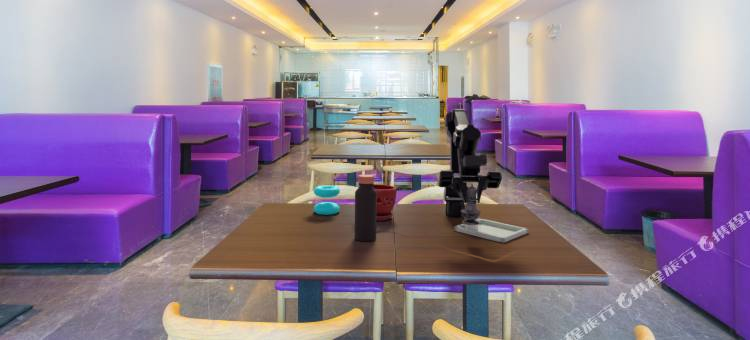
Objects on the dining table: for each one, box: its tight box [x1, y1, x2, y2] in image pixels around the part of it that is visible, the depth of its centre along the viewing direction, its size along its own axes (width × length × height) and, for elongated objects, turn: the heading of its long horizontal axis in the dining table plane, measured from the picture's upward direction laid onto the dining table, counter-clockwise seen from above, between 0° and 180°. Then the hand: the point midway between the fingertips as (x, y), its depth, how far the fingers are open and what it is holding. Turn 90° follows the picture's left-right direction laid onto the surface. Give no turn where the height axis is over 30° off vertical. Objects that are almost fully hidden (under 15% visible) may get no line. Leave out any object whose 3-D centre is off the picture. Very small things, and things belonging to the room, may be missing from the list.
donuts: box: [313, 185, 341, 216], centre depth 175 cm, size 10×10×10 cm
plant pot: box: [373, 183, 397, 222], centre depth 168 cm, size 13×13×12 cm
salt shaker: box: [461, 183, 481, 225], centre depth 137 cm, size 6×6×12 cm
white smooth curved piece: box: [464, 216, 480, 231], centre depth 151 cm, size 4×4×6 cm
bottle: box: [354, 174, 377, 243], centre depth 141 cm, size 7×7×20 cm
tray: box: [453, 218, 529, 244], centre depth 151 cm, size 18×16×2 cm
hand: (472, 202), depth 136 cm, fingers closed on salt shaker, 4 cm apart
